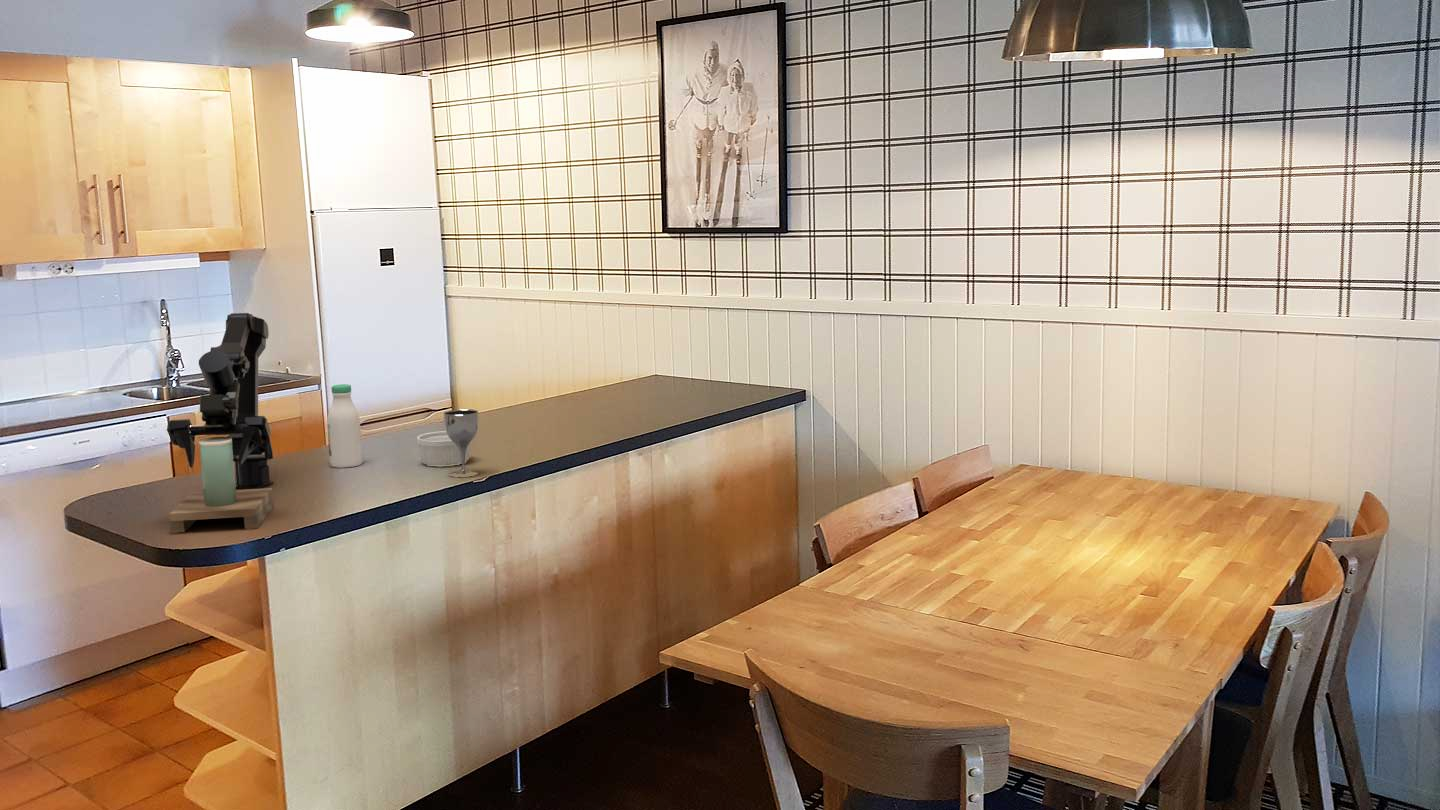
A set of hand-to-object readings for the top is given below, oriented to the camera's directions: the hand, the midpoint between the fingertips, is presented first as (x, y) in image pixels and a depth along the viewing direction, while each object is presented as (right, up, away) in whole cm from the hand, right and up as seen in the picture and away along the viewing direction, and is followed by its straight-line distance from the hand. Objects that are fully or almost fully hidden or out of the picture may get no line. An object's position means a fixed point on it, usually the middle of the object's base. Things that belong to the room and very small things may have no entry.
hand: (215, 465), depth 232 cm
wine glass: (+40, -5, +44) cm, 60 cm away
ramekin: (+32, -3, +58) cm, 66 cm away
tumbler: (0, -8, +3) cm, 8 cm away
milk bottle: (+8, -3, +56) cm, 57 cm away
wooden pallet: (0, -11, +5) cm, 13 cm away
